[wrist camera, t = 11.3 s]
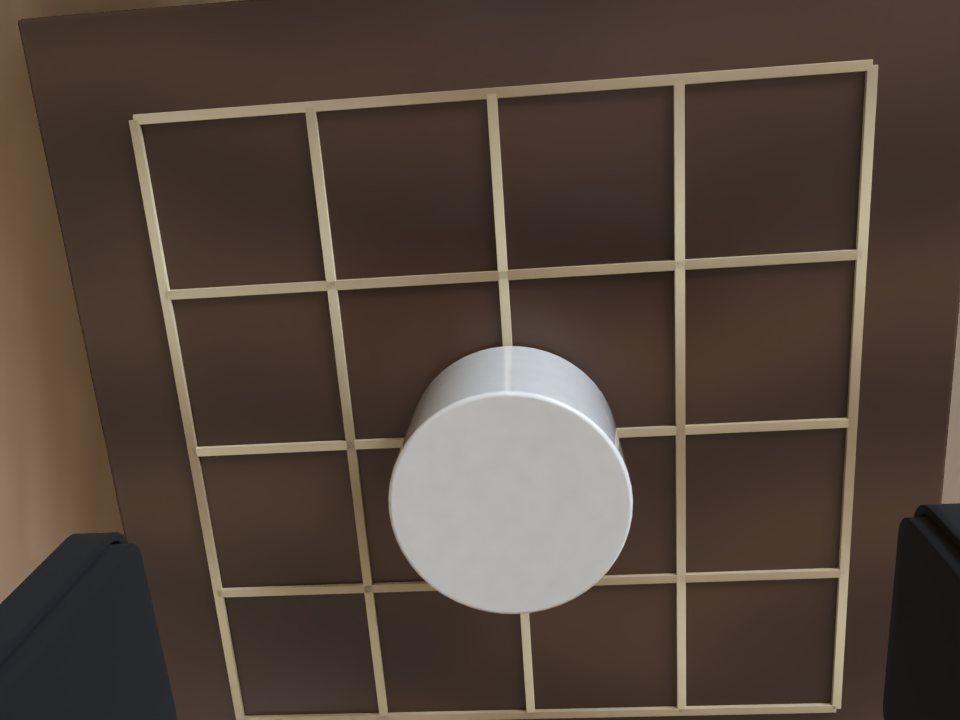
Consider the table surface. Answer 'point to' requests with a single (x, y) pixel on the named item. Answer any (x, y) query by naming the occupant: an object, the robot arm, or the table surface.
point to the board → (515, 330)
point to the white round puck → (511, 483)
